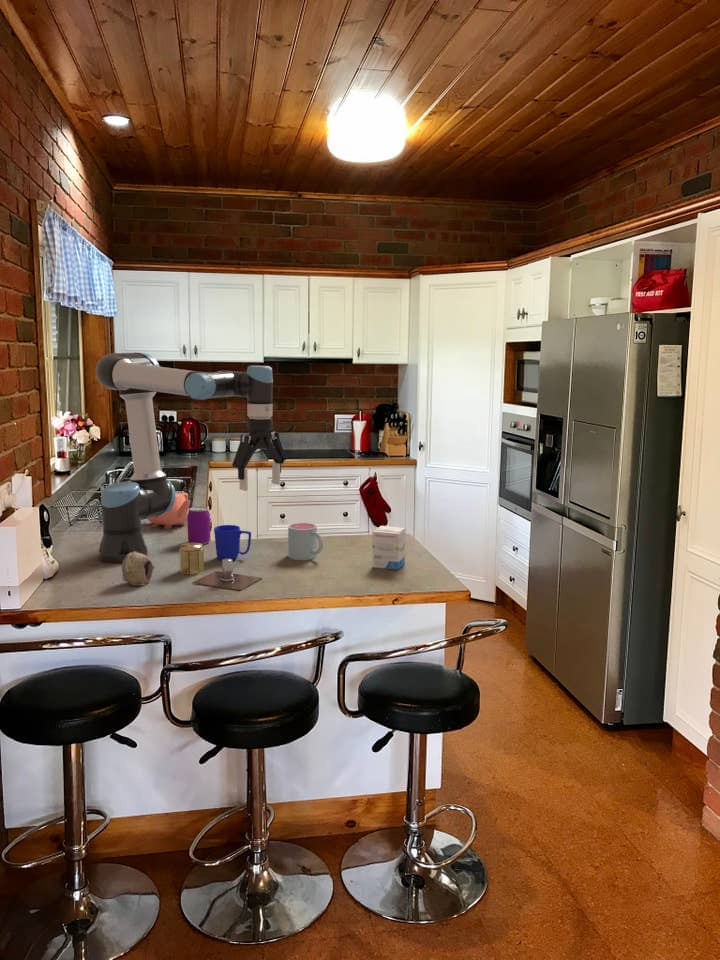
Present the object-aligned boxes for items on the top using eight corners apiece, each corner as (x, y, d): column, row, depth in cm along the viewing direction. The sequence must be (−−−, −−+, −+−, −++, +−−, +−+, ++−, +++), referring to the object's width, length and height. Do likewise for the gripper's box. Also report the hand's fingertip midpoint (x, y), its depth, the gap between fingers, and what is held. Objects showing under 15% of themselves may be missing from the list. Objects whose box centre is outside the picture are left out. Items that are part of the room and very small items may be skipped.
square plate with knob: (192, 583, 220) (191, 562, 219) (215, 572, 231) (215, 551, 230) (240, 590, 214) (240, 568, 213) (261, 579, 225) (261, 557, 224)
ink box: (405, 563, 244) (406, 527, 241) (398, 570, 236) (398, 533, 234) (379, 560, 246) (380, 524, 244) (371, 567, 238) (372, 530, 236)
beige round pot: (128, 595, 217) (116, 566, 212) (124, 582, 224) (113, 553, 220) (160, 582, 219) (149, 553, 215) (156, 569, 227) (144, 541, 222)
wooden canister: (173, 573, 229) (172, 547, 228) (191, 565, 238) (190, 540, 236) (192, 576, 227) (192, 550, 225) (209, 568, 235) (209, 543, 234)
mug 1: (246, 563, 241) (246, 532, 239) (210, 560, 243) (209, 530, 242) (255, 556, 249) (255, 526, 247) (220, 553, 251) (219, 524, 250)
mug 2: (282, 556, 250) (282, 526, 248) (303, 550, 256) (303, 521, 254) (311, 564, 240) (311, 533, 239) (332, 558, 247) (332, 528, 245)
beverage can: (209, 539, 270) (208, 505, 268) (212, 544, 263) (211, 510, 260) (186, 540, 267) (185, 506, 265) (189, 546, 260) (188, 511, 258)
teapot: (191, 529, 283) (190, 493, 281) (144, 532, 278) (142, 495, 276) (188, 519, 298) (187, 485, 296) (143, 522, 294) (142, 487, 291)
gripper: (237, 421, 219) (237, 494, 223) (297, 415, 238) (297, 483, 242) (219, 419, 223) (220, 490, 227) (280, 414, 242) (280, 479, 246)
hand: (260, 487), depth 234 cm, fingers open, 13 cm apart
